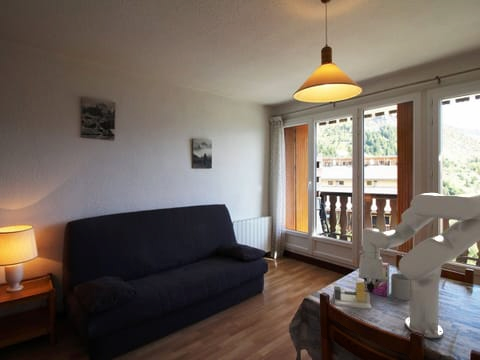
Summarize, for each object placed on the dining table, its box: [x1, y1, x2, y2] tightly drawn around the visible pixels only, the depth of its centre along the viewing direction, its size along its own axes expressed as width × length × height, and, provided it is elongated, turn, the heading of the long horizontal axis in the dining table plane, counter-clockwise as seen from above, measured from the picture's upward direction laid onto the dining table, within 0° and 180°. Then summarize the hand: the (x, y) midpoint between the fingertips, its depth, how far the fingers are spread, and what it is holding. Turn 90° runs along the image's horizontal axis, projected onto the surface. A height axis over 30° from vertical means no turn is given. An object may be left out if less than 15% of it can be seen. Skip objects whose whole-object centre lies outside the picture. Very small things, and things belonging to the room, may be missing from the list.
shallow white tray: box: [333, 285, 373, 310], centre depth 126 cm, size 11×16×6 cm
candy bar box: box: [363, 262, 390, 298], centre depth 134 cm, size 11×5×16 cm, turn 47°
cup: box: [390, 273, 410, 301], centre depth 130 cm, size 8×8×10 cm
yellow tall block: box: [354, 280, 367, 301], centre depth 124 cm, size 4×4×8 cm
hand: (370, 290), depth 124 cm, fingers closed
